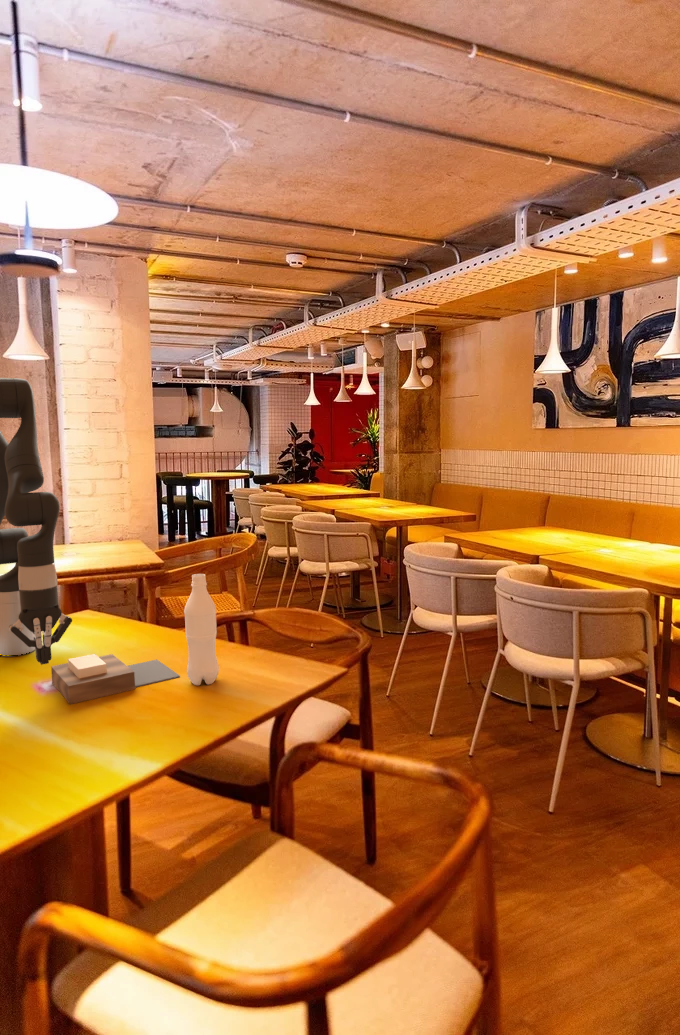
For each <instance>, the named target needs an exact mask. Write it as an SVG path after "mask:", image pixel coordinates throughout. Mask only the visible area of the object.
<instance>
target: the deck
mask: <svg viewBox="0 0 680 1035" xmlns="http://www.w3.org/2000/svg"><path fill="white" fill-rule="evenodd" d="M98 657H99V658H100V659H101V660H103V661H104V662H105V663H106V666H107V672H106V673H102V674H97V675H93V676H88V677H83V678H78V677H77V676H76V675H75V674H74V673H73V672H72V671H71V670H70V669H69V667H68V662H66V663H61V664H56V665H51V666H50V669H51V670H50V671H51V683H52V685H53V686H54V687H55V688H56V689H57V691H59V692H58V693H60V694H61V695H62V696H63V698H64V699H65V700H66V702H68V704H69V705H74V704H77V703H81V702H86V701H91V700H95V699H98V698H102V697H107V696H110V695H111V696H112V695H115V694H120V693H125V692H128V691H133V690H136V687H135V676H134V671H133V670H131V669H130V668H129V667H128V666H129V665H127V664H126V663H124V662H123V661H121V660H120V659H119V658H118V657H117V656H115V655H114V654H112V653H111V654H106V655H102V656H98Z"/></svg>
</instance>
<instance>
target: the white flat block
mask: <svg viewBox="0 0 680 1035" xmlns="http://www.w3.org/2000/svg"><path fill="white" fill-rule="evenodd" d="M99 657H100V656H98V655H97V654H95V653H92V654H87V655H82V656H77V657H73V658H71V657H70V658H68V659H67V663H68V667H69V669H70V670H71V671H72V672H73V673H74V674H75V675H76V676H77V677H78V678H83V677H88V676H93V675H97V674H102V673H106V672H107V666H106V663H105V662H104V661H103V660H101V659H100V658H99Z"/></svg>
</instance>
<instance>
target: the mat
mask: <svg viewBox="0 0 680 1035" xmlns="http://www.w3.org/2000/svg"><path fill="white" fill-rule="evenodd" d="M127 666H128V667H129V668H130V669H131V670H133V671H134V676H135V688H138V687H143V686H147V685H152V684H155V683H159V682H163V681H168V680H171V679H172V680H173V679H176V678H180V677H181V675H180V674H179V673H177V672H175V671H174V670H173V669H172V668H170V667H169V666H167V665H165V664H164V663H162V662H161V660H158V659H153V660H149V661H143V662H139V663H134V664H133V663H132V664H130V665H127Z"/></svg>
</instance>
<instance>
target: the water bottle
mask: <svg viewBox="0 0 680 1035" xmlns="http://www.w3.org/2000/svg"><path fill="white" fill-rule="evenodd" d="M191 580H192V581H191V584H190V587H191V593H190V595H189V597H188V599H187V601H186V604H185V606H184V609H183V610H184V611H183V614H184V621H185V622H184V623H185V624H184V625H185V627H184V628H185V637H186V642H187V643H186V644H187V647H188V660H187V666H186V674H187V677H188V679H189V681H190V682H191V683H192V685H194V686H200V685H201V684H202V682H203V680H204V682H205V684H206V686H207V685H212V684H213V683H214V682H215V681H216V679H217V678H218V675H219V671H220V670H219V668H220V667H219V666H220V665H219V662H218V658H217V655H216V654H217V652H216V638H217V634H218V632H217V607H216V604H215V602H214V600H213V598H212V597H211V595H210V593H209V592H208V590H207V586H208V583H207V580H206V574H204V573H195V574H192V575H191Z"/></svg>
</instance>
